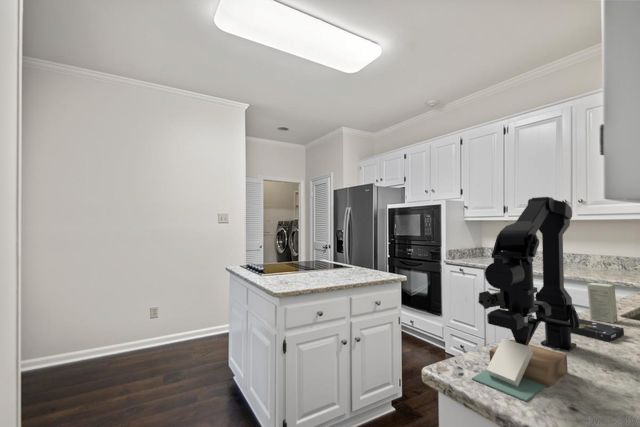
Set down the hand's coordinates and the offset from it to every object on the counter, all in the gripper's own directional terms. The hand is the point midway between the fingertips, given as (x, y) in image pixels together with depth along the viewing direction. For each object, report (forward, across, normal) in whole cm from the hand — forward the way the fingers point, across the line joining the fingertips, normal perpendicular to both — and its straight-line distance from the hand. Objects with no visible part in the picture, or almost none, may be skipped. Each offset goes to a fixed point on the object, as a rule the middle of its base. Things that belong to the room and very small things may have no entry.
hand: (522, 350), depth 72 cm
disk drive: (+6, -43, 0) cm, 43 cm away
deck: (+5, -3, 0) cm, 6 cm away
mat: (+5, +7, 0) cm, 9 cm away
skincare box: (+5, -60, 0) cm, 60 cm away
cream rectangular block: (+2, +4, -1) cm, 5 cm away
